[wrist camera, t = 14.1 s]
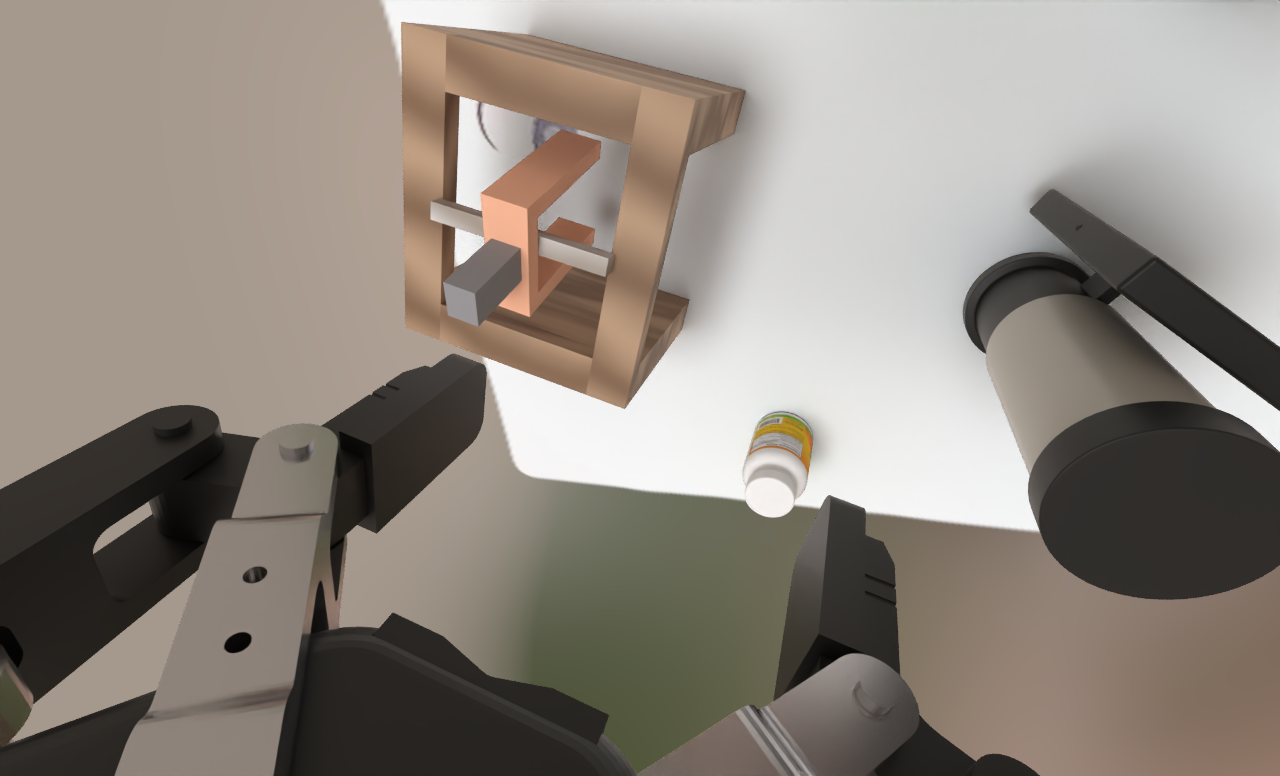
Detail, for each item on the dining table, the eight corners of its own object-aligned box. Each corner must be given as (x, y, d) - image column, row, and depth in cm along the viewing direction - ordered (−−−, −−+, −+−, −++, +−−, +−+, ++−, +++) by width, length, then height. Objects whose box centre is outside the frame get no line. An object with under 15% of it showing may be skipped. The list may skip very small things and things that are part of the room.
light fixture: (917, 301, 46) (958, 490, 25) (1040, 180, 40) (1224, 299, 19) (1041, 392, 46) (1181, 654, 25) (1182, 285, 40) (1516, 515, 19)
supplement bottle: (797, 468, 56) (786, 535, 48) (746, 444, 57) (725, 506, 49) (823, 426, 53) (815, 489, 45) (768, 401, 54) (751, 459, 46)
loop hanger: (561, 129, 40) (427, 235, 30) (601, 141, 40) (478, 252, 30) (559, 230, 46) (446, 347, 36) (593, 242, 46) (489, 364, 36)
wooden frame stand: (527, 34, 46) (389, 20, 33) (745, 90, 43) (690, 100, 30) (507, 270, 57) (396, 332, 44) (681, 329, 54) (619, 416, 40)
